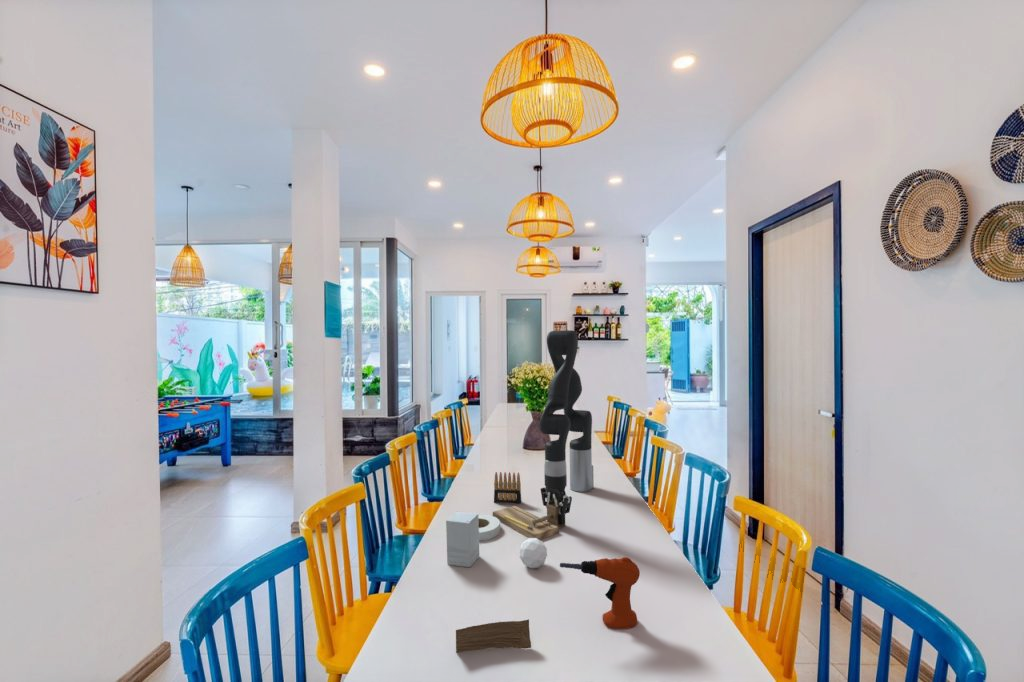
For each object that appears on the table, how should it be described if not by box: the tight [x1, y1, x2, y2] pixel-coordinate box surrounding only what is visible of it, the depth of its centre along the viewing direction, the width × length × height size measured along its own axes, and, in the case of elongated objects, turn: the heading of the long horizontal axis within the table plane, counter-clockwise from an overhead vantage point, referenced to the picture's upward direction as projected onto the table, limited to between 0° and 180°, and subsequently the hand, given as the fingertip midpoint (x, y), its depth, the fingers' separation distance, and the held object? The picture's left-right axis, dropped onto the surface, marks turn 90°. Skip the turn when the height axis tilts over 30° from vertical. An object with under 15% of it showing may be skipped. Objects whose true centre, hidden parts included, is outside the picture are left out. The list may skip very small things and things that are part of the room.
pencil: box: [504, 515, 533, 530], centre depth 152 cm, size 1×14×1 cm, turn 41°
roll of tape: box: [477, 513, 501, 541], centre depth 151 cm, size 16×15×3 cm
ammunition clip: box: [493, 471, 522, 505], centre depth 177 cm, size 11×2×12 cm, turn 82°
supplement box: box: [445, 511, 480, 568], centre depth 131 cm, size 7×7×13 cm
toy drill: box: [559, 556, 641, 630], centre depth 101 cm, size 5×19×15 cm, turn 93°
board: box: [492, 505, 559, 540], centre depth 155 cm, size 10×24×2 cm, turn 36°
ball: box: [519, 538, 548, 569], centre depth 127 cm, size 8×8×8 cm
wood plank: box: [455, 619, 532, 653], centre depth 93 cm, size 15×2×5 cm, turn 99°
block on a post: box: [532, 502, 566, 529], centre depth 152 cm, size 12×4×7 cm, turn 126°
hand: (556, 521), depth 155 cm, fingers open, 4 cm apart
